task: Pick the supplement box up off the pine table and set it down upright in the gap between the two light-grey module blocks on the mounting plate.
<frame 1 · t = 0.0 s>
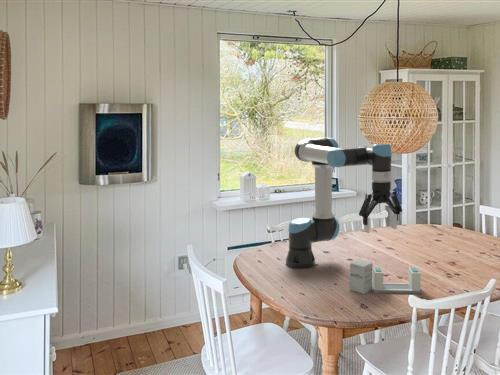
hand: (380, 230, 199), 28 cm above the table, fingers open, 13 cm apart
grey holder stand: (395, 289, 207), on the table
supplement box: (360, 290, 208), on the table
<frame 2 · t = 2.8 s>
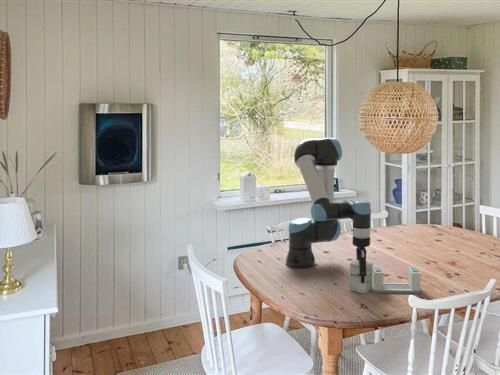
hand: (360, 284, 207), 2 cm above the table, fingers closed on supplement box, 10 cm apart
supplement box: (360, 290, 208), on the table, touching gripper
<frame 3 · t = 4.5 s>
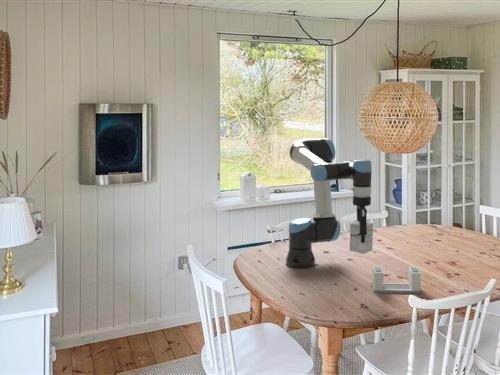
hand: (361, 245, 204), 20 cm above the table, fingers closed on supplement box, 10 cm apart
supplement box: (361, 251, 205), point 18 cm above the table, touching gripper
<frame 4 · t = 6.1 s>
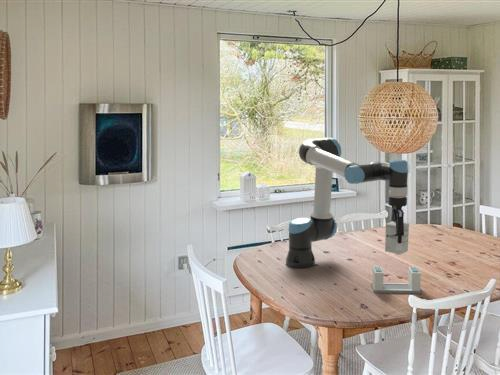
hand: (396, 246, 204), 20 cm above the table, fingers closed on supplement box, 10 cm apart
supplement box: (396, 251, 204), point 17 cm above the table, touching gripper
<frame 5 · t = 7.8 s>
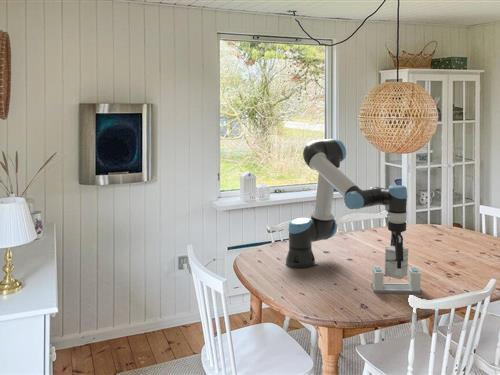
hand: (396, 270, 205), 9 cm above the table, fingers closed on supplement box, 10 cm apart
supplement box: (396, 276, 206), point 6 cm above the table, touching gripper
when the fingers open (5 cm above the table, at t = 9.2 s): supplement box drops 1 cm, resting on grey holder stand.
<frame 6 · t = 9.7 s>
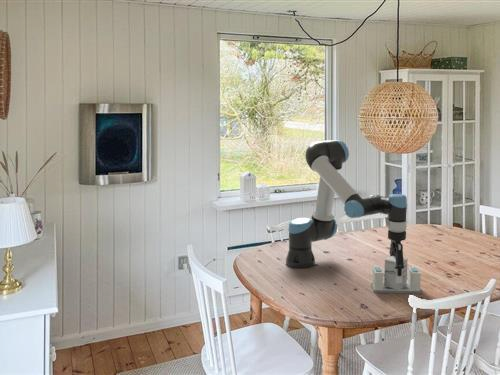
hand: (395, 277, 206), 6 cm above the table, fingers open, 13 cm apart
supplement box: (395, 286, 207), point 1 cm above the table, touching grey holder stand
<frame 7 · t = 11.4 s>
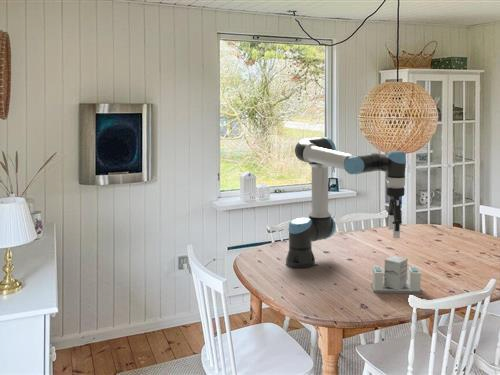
hand: (393, 233, 208), 24 cm above the table, fingers open, 13 cm apart
nothing on the table moved.
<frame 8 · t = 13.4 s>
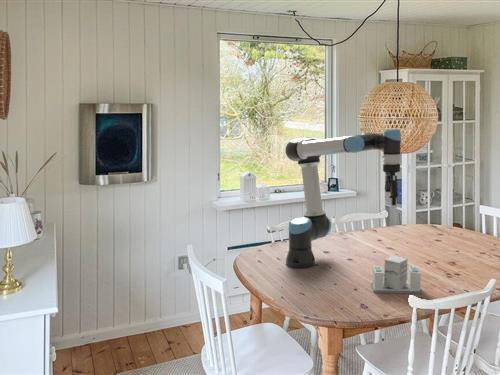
hand: (390, 208, 218), 33 cm above the table, fingers open, 13 cm apart
nothing on the table moved.
at the end: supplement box inside the target area on the grey holder stand (0.3 cm from its centre), point 1.1 cm above the grey holder stand's base; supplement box tilted 0°; the gripper is holding nothing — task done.
